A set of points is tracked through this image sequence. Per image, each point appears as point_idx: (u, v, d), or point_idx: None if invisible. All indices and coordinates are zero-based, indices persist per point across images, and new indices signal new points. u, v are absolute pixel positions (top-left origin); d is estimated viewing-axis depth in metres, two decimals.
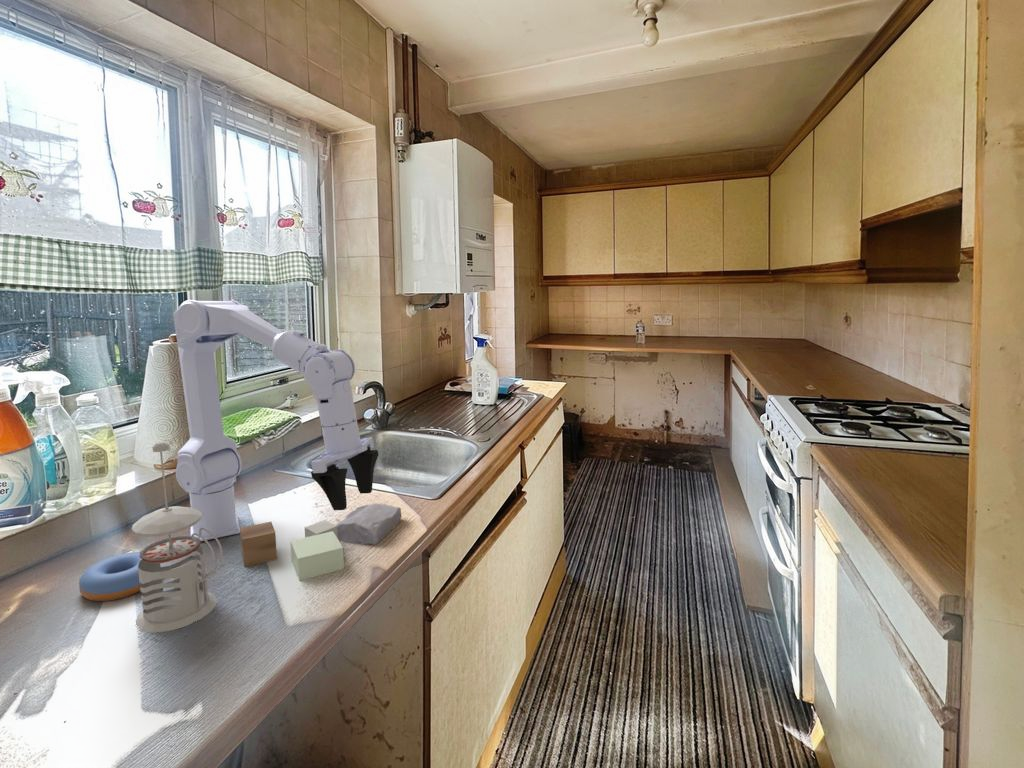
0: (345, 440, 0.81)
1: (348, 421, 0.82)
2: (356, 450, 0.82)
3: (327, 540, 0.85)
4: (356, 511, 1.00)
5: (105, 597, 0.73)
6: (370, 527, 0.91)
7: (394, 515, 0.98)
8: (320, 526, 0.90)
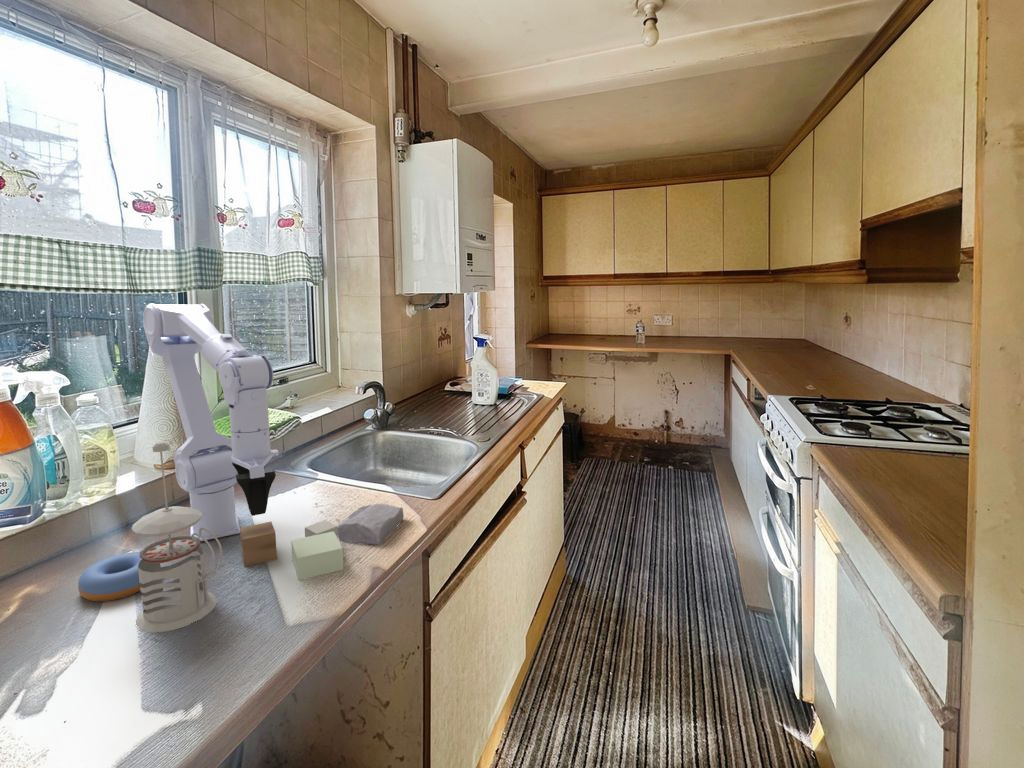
0: (266, 445, 0.83)
1: (251, 430, 0.81)
2: (273, 454, 0.85)
3: (328, 540, 0.85)
4: (358, 511, 1.00)
5: (104, 597, 0.73)
6: (373, 527, 0.91)
7: (396, 515, 0.98)
8: (321, 526, 0.90)
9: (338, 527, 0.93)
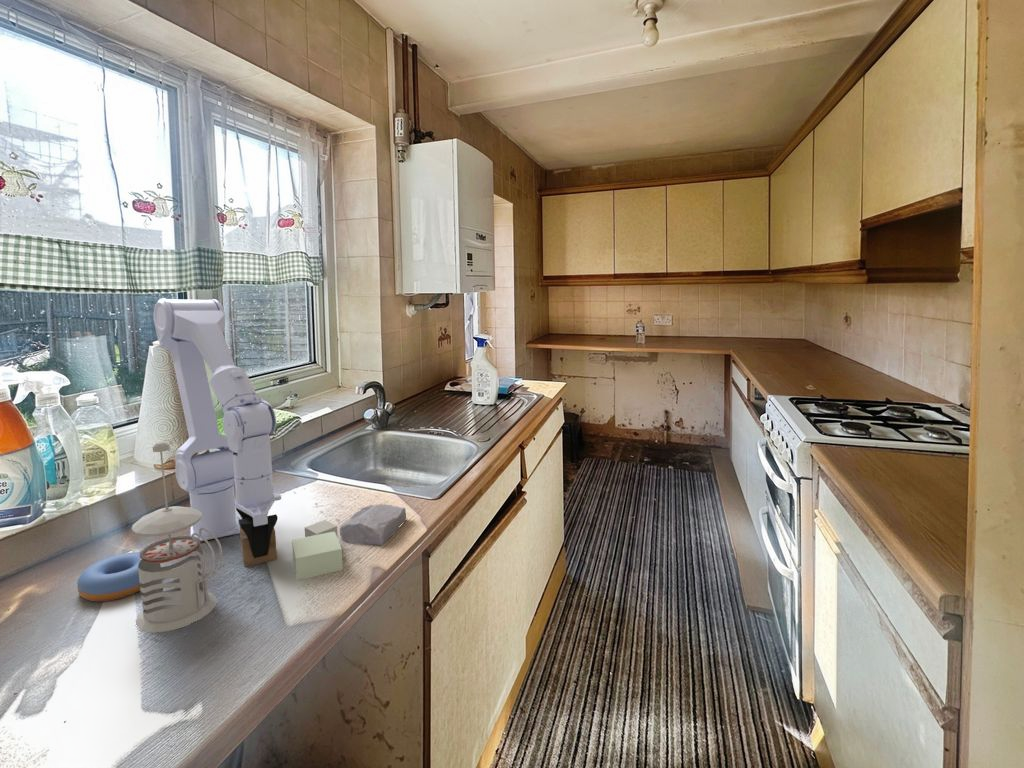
0: (269, 490, 0.84)
1: (255, 477, 0.82)
2: (276, 498, 0.86)
3: (328, 540, 0.85)
4: (361, 512, 1.00)
5: (103, 597, 0.73)
6: (377, 527, 0.91)
7: (399, 515, 0.98)
8: (320, 526, 0.90)
9: (341, 527, 0.93)
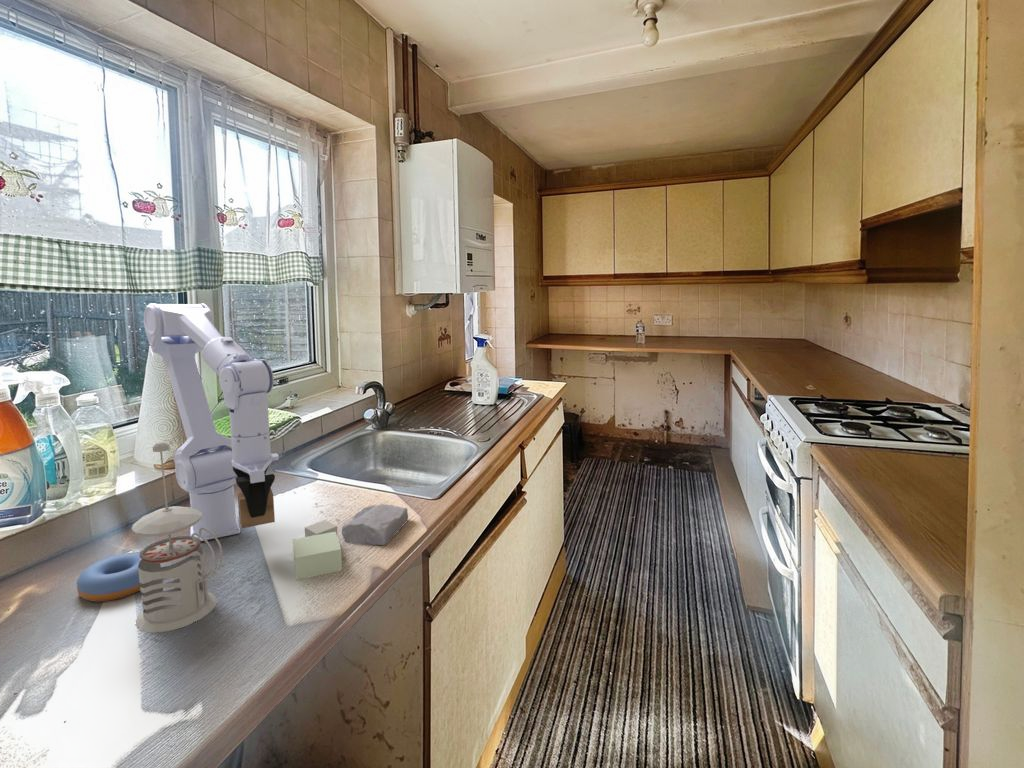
0: (266, 449, 0.83)
1: (252, 434, 0.81)
2: (273, 458, 0.85)
3: (328, 540, 0.85)
4: (363, 512, 1.00)
5: (103, 597, 0.73)
6: (379, 528, 0.91)
7: (401, 516, 0.98)
8: (320, 526, 0.90)
9: (343, 528, 0.93)
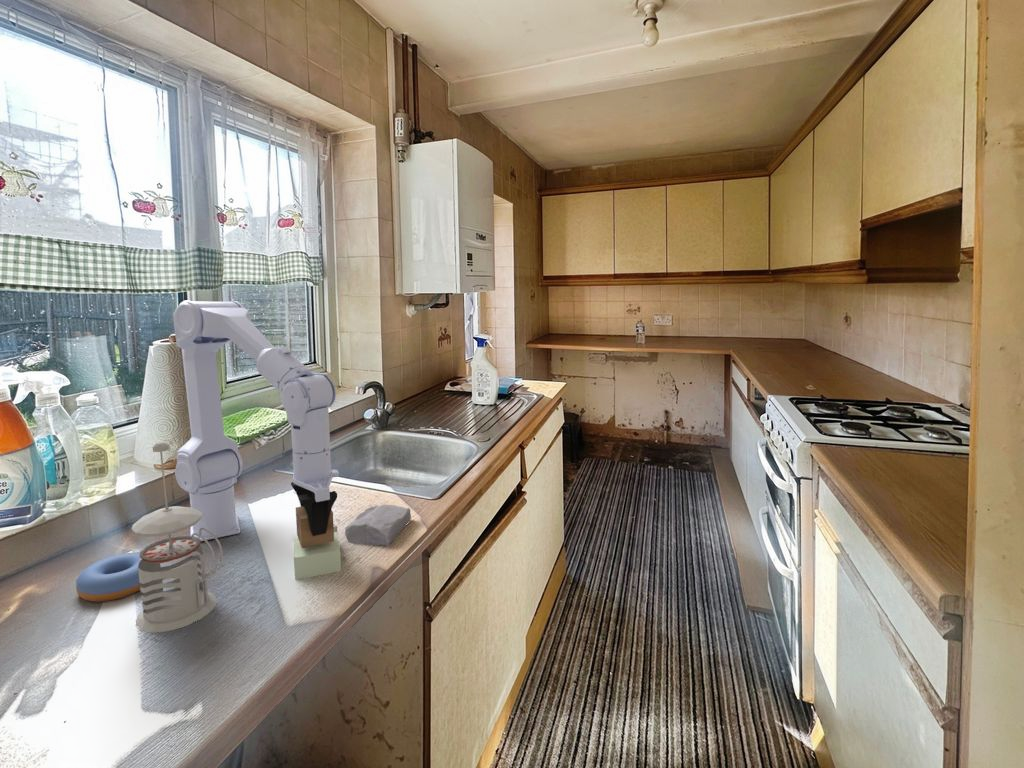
0: (327, 466, 0.81)
1: (318, 451, 0.79)
2: (334, 474, 0.83)
3: None
4: (365, 512, 1.00)
5: (102, 597, 0.73)
6: (382, 528, 0.91)
7: (404, 516, 0.98)
8: None
9: (346, 528, 0.93)
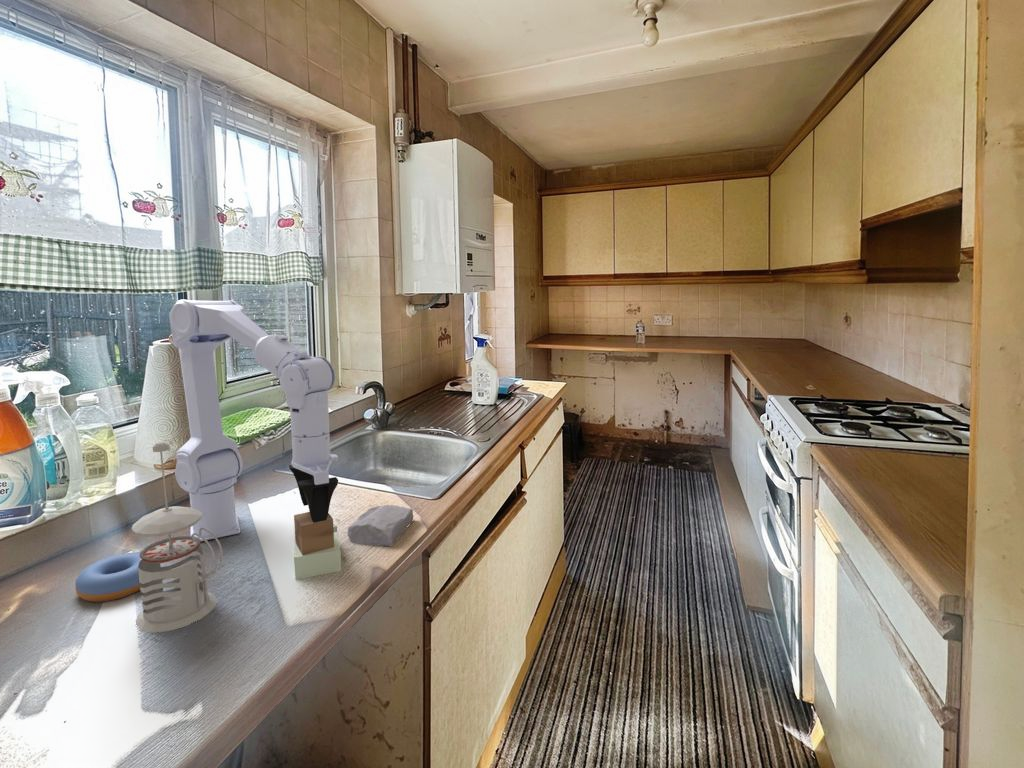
0: (327, 449, 0.81)
1: (317, 434, 0.79)
2: (333, 459, 0.82)
3: None
4: (368, 512, 1.00)
5: (101, 598, 0.73)
6: (385, 528, 0.91)
7: (407, 516, 0.98)
8: None
9: (349, 528, 0.93)
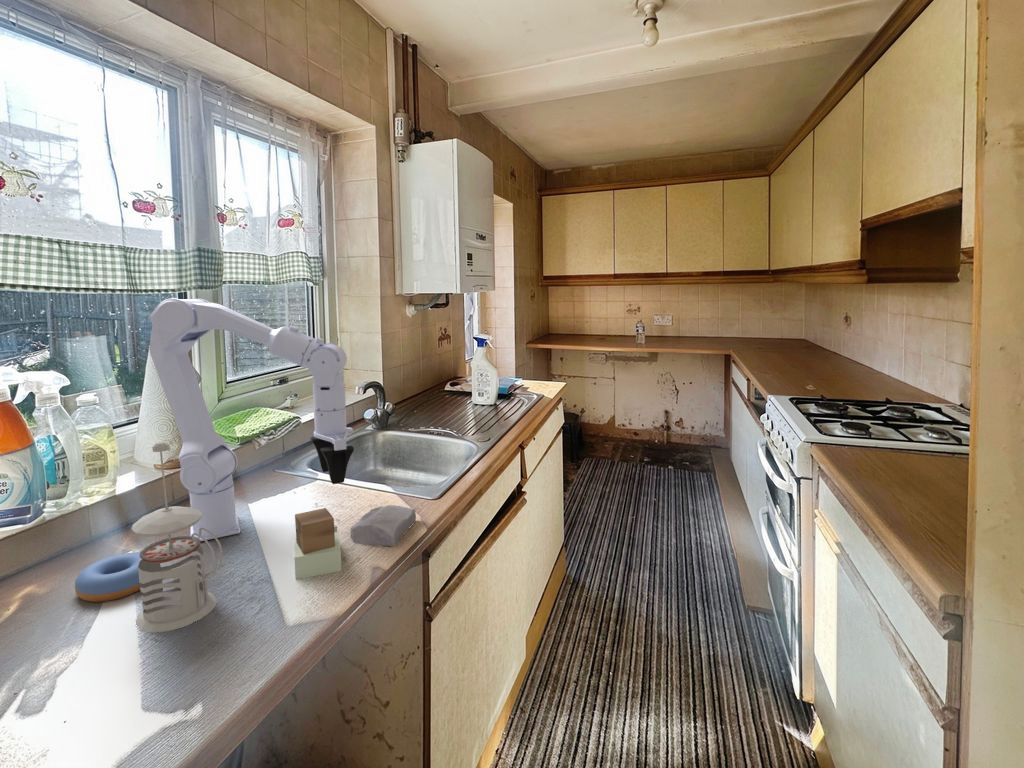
0: (344, 422, 0.94)
1: (343, 407, 0.94)
2: (349, 431, 0.96)
3: None
4: (370, 513, 1.00)
5: (101, 598, 0.73)
6: (388, 528, 0.91)
7: (409, 516, 0.98)
8: None
9: (352, 529, 0.93)
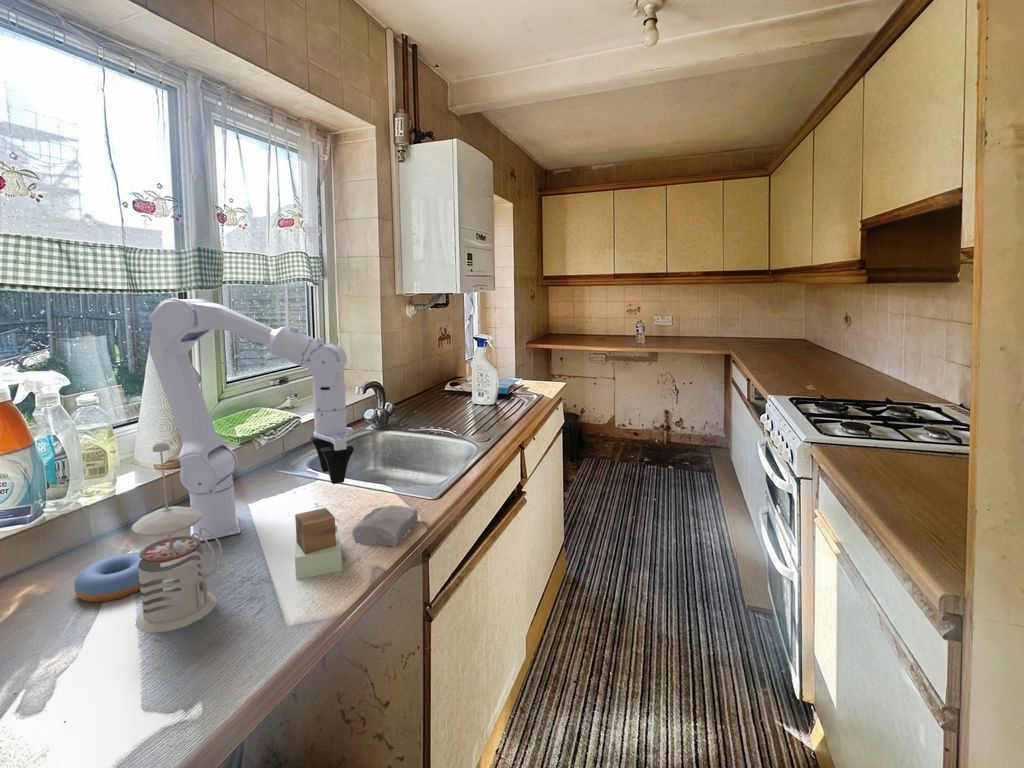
0: (344, 422, 0.94)
1: (343, 407, 0.94)
2: (349, 431, 0.96)
3: None
4: (372, 513, 0.99)
5: (100, 598, 0.73)
6: (390, 529, 0.91)
7: (412, 517, 0.98)
8: None
9: (354, 529, 0.93)
